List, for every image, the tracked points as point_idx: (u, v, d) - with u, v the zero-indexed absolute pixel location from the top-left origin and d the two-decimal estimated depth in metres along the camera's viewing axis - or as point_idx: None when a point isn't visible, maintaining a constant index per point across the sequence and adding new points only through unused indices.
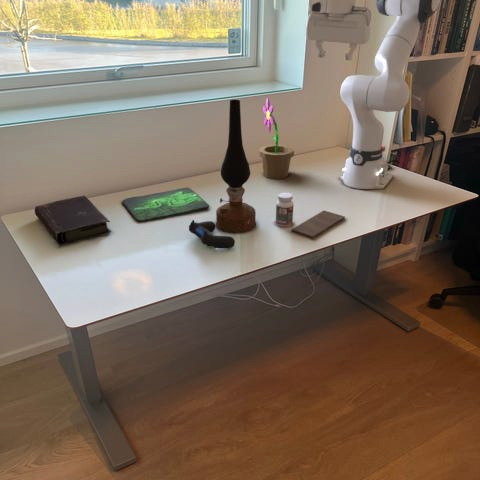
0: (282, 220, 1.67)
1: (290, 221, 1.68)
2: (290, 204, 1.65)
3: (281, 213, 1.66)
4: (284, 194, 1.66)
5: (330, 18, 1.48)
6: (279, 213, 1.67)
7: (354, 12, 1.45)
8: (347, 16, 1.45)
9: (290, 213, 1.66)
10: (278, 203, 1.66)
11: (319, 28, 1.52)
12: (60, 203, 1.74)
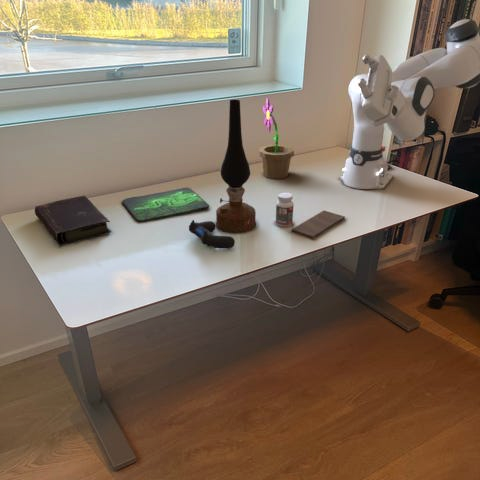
0: (282, 220, 1.67)
1: (290, 221, 1.68)
2: (290, 204, 1.65)
3: (281, 213, 1.66)
4: (284, 194, 1.66)
5: None
6: (279, 213, 1.67)
7: None
8: None
9: (290, 213, 1.66)
10: (278, 203, 1.66)
11: None
12: (60, 202, 1.74)
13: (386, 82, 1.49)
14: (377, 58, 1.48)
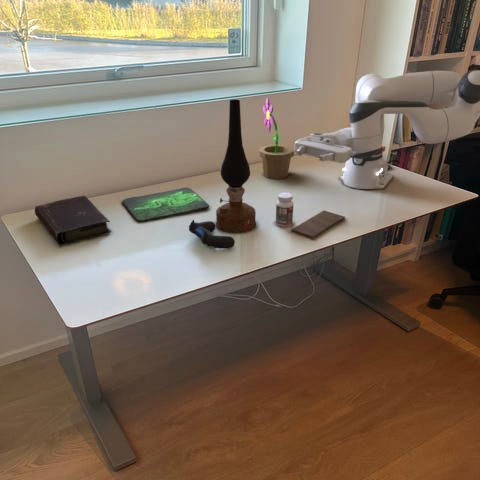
0: (282, 220, 1.67)
1: (290, 221, 1.68)
2: (290, 204, 1.65)
3: (281, 213, 1.66)
4: (284, 194, 1.66)
5: (325, 139, 1.72)
6: (279, 213, 1.67)
7: None
8: (338, 145, 1.71)
9: (290, 213, 1.66)
10: (278, 203, 1.66)
11: (310, 142, 1.73)
12: (60, 202, 1.74)
13: None
14: (338, 159, 1.66)
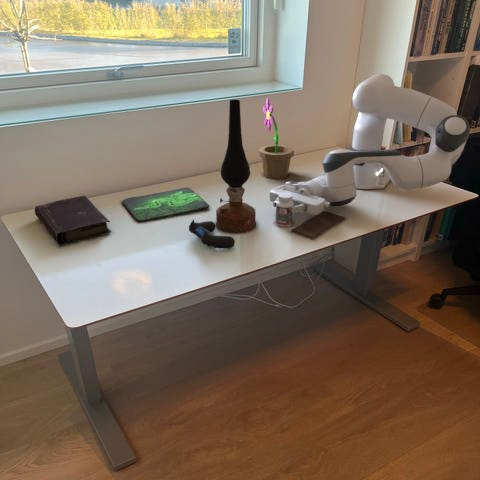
0: (282, 220, 1.67)
1: (290, 221, 1.68)
2: (290, 204, 1.65)
3: (281, 213, 1.66)
4: (284, 194, 1.66)
5: (300, 189, 1.72)
6: (279, 213, 1.67)
7: None
8: (313, 195, 1.71)
9: (290, 213, 1.66)
10: (278, 203, 1.66)
11: (285, 191, 1.74)
12: (60, 202, 1.74)
13: None
14: (311, 211, 1.66)
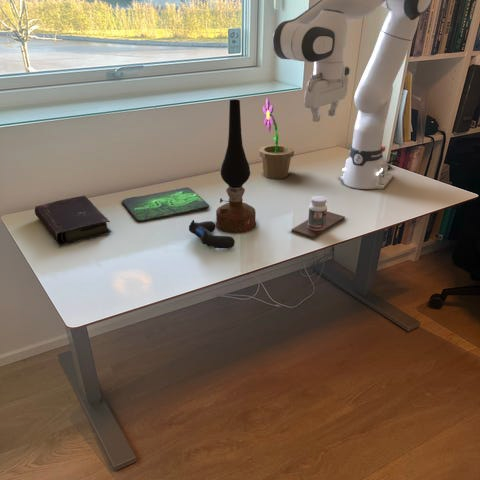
0: (317, 224, 1.62)
1: (324, 224, 1.64)
2: (325, 207, 1.60)
3: (316, 217, 1.61)
4: (317, 197, 1.61)
5: None
6: (314, 218, 1.61)
7: None
8: None
9: (325, 216, 1.62)
10: (312, 207, 1.60)
11: None
12: (60, 202, 1.74)
13: (326, 87, 1.54)
14: None
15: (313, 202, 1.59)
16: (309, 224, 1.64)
